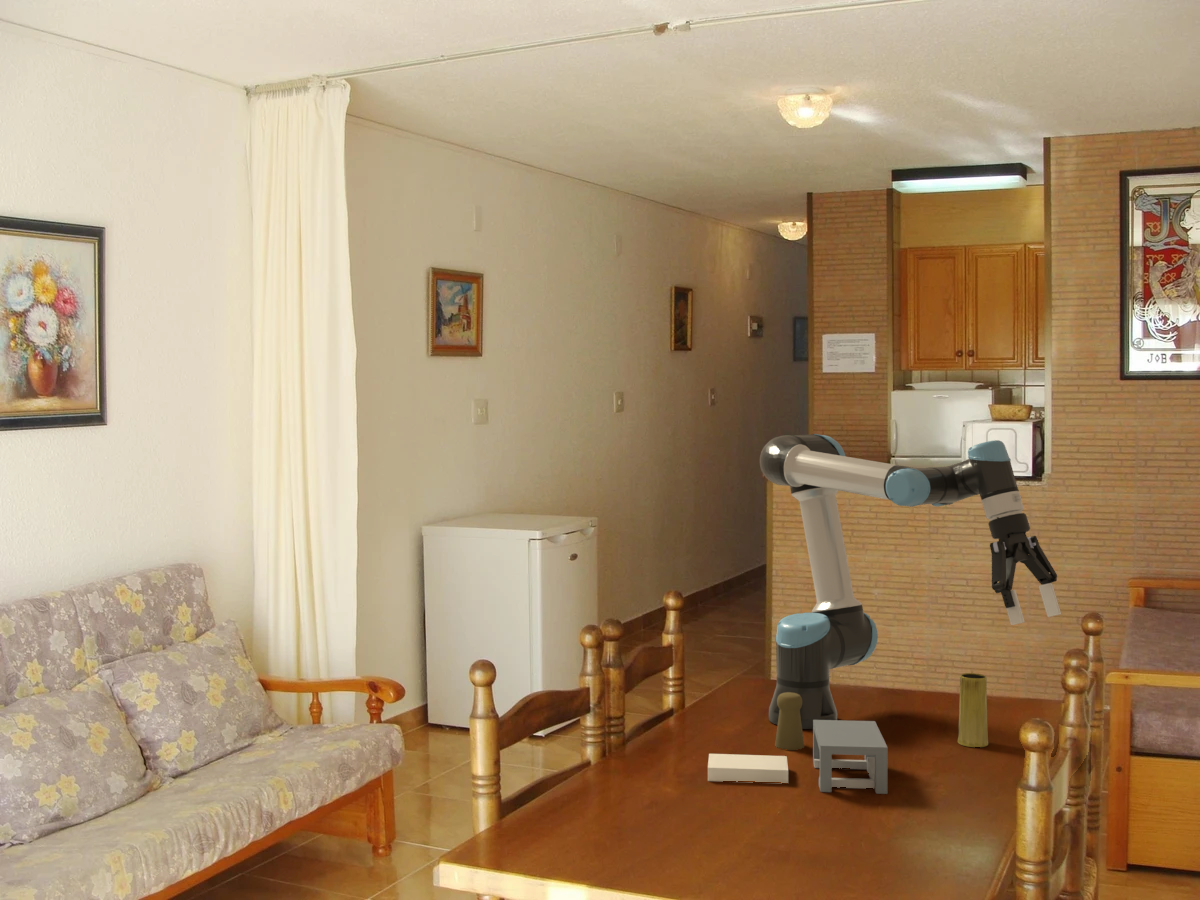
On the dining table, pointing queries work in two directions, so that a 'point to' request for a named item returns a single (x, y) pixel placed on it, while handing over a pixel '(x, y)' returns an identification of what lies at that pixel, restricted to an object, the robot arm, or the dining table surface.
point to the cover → (747, 768)
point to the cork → (789, 722)
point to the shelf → (850, 753)
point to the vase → (973, 710)
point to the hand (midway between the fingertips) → (1036, 619)
